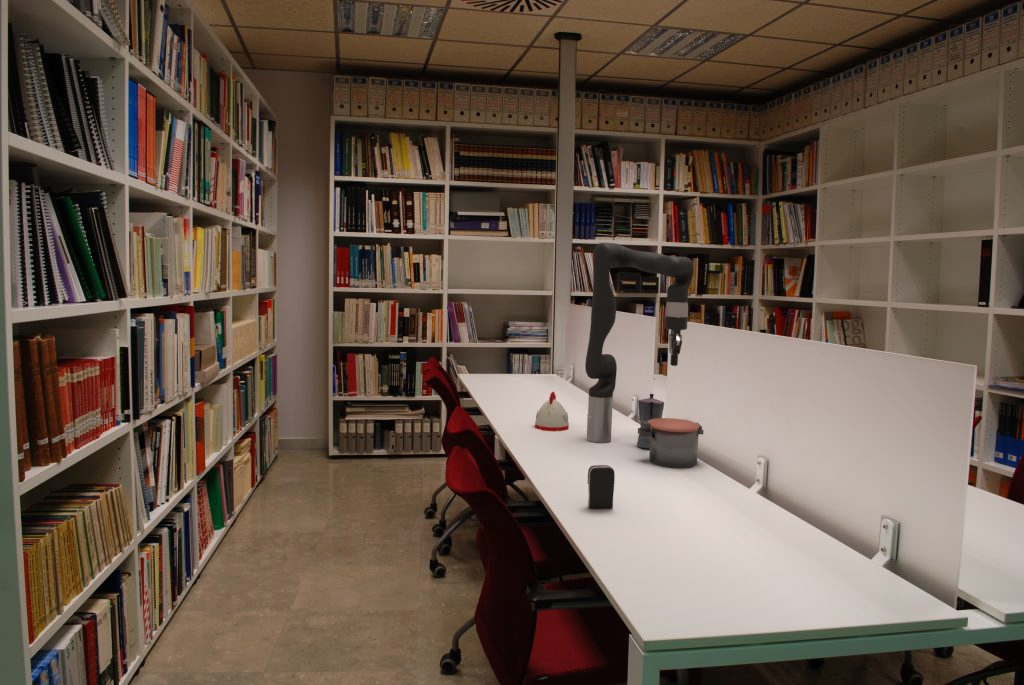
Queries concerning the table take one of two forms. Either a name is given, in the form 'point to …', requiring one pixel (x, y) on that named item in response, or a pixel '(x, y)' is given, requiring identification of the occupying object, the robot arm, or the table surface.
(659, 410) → the moka pot
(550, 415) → the kitchen timer
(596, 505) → the battery charger
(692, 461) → the cooker pot
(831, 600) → the table surface
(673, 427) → the lid
